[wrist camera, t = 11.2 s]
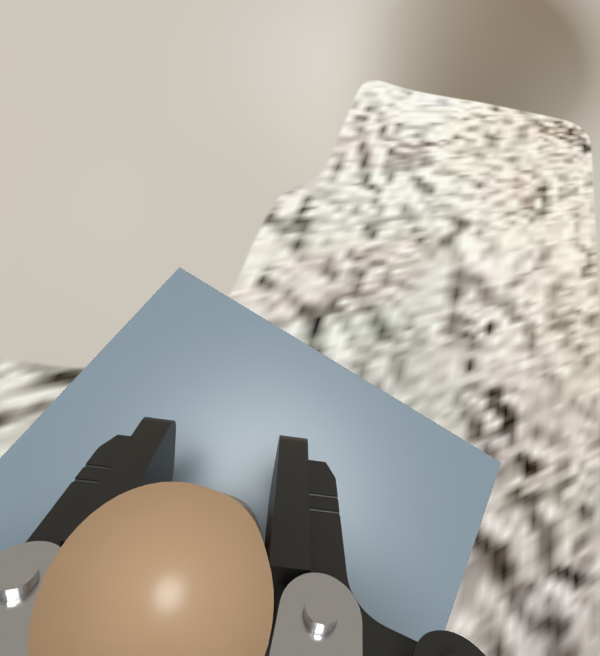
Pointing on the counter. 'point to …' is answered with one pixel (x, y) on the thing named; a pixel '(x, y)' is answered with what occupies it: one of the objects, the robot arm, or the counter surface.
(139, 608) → the cover
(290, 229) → the counter surface
